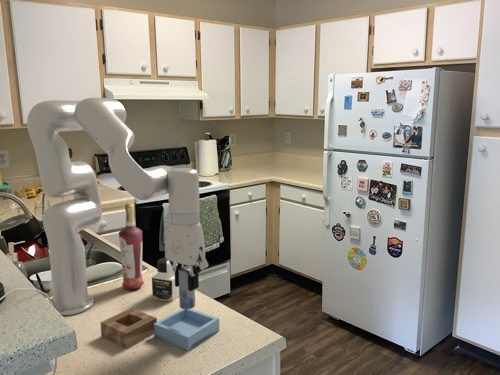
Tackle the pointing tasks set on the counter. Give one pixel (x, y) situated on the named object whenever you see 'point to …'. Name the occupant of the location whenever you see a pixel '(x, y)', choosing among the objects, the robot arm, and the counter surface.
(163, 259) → the medicine bottle
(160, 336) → the tray
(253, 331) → the counter surface
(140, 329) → the hole block
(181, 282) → the peg
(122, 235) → the liquor
